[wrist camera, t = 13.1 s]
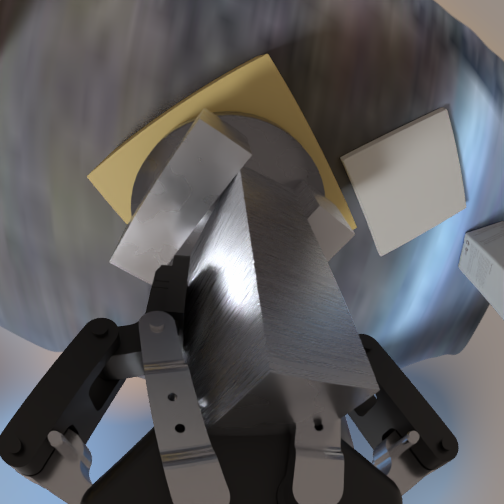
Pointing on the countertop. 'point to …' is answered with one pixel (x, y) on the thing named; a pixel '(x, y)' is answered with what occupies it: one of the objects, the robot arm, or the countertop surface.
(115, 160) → the yellow square mount
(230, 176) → the collar
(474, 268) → the skincare box
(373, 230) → the key mat
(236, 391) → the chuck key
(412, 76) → the countertop surface
